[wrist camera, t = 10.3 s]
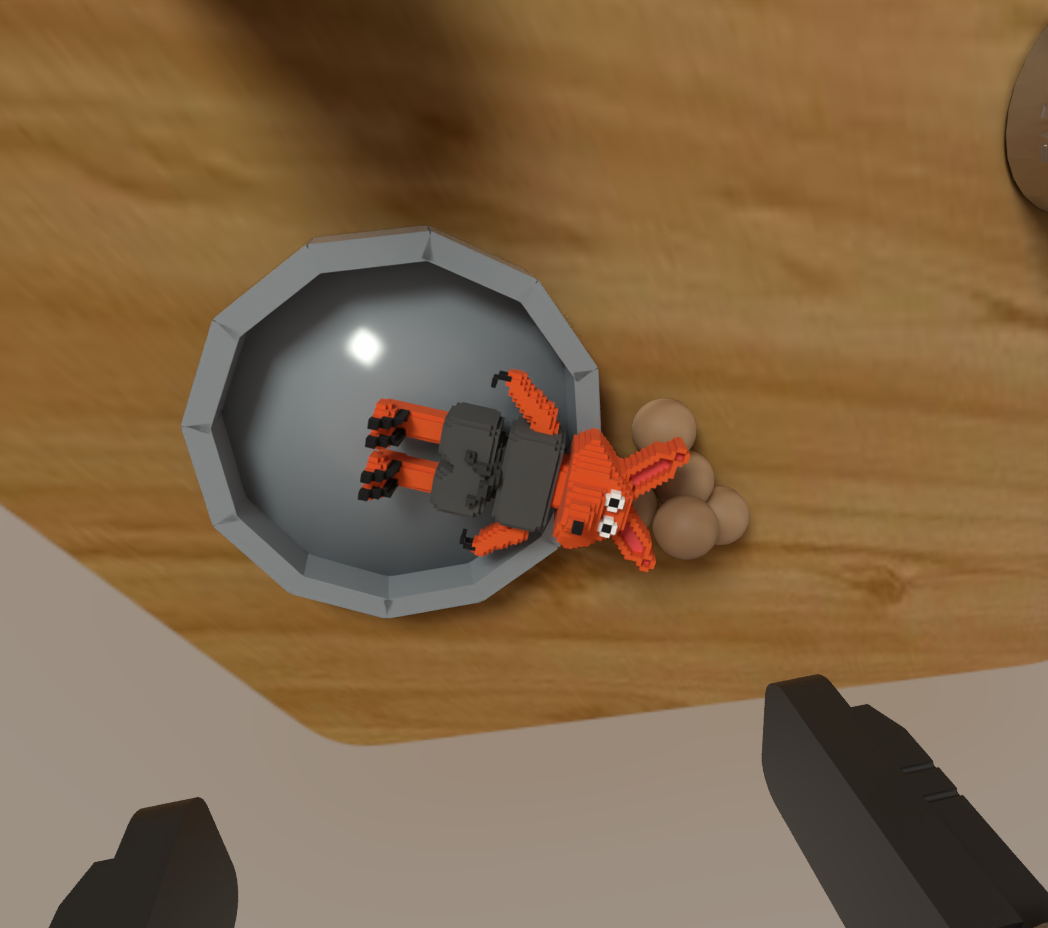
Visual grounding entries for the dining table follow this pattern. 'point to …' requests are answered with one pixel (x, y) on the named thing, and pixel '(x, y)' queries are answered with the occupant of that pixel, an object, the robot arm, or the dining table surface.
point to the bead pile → (685, 489)
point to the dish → (371, 412)
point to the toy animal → (519, 471)
